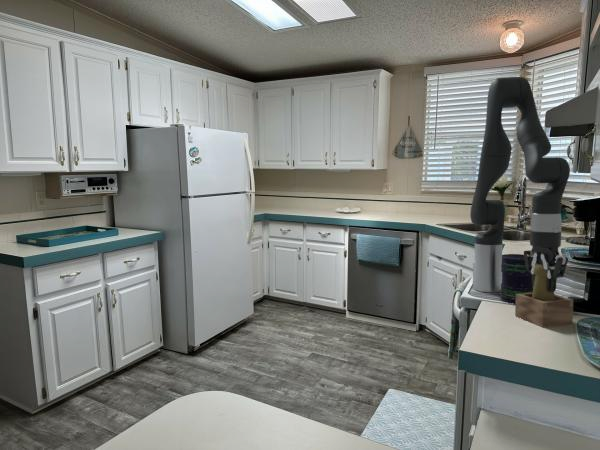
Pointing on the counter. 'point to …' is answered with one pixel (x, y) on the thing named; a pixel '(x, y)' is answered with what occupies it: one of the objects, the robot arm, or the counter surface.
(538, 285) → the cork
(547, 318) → the open walnut box
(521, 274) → the storage jar
